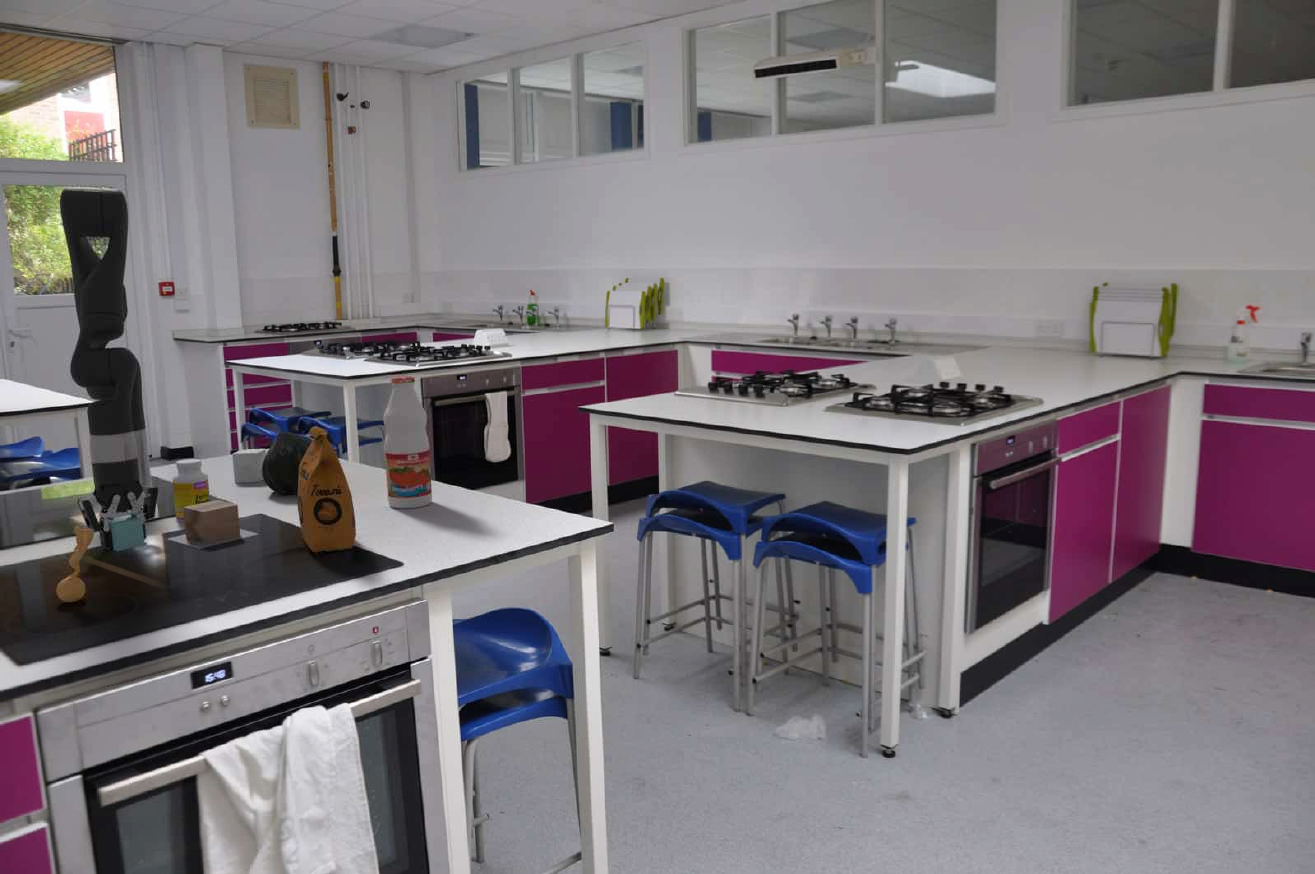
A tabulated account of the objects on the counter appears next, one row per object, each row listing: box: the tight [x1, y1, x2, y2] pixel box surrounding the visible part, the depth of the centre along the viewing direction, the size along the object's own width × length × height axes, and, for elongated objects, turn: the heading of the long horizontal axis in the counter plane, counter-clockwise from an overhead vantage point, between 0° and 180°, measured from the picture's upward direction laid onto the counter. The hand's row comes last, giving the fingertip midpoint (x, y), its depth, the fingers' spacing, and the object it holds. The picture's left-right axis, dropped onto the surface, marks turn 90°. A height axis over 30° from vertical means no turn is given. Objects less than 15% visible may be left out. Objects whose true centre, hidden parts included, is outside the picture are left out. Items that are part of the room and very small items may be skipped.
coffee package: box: [297, 425, 357, 553], centre depth 188 cm, size 10×12×22 cm
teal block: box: [110, 514, 145, 552], centre depth 188 cm, size 5×5×6 cm
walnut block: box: [183, 499, 241, 543], centre depth 193 cm, size 7×7×6 cm
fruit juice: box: [383, 375, 433, 509], centre depth 219 cm, size 9×9×28 cm
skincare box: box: [231, 448, 267, 484], centre depth 249 cm, size 6×6×7 cm
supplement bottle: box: [172, 458, 211, 522], centre depth 208 cm, size 7×7×13 cm
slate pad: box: [167, 528, 260, 550], centre depth 194 cm, size 12×12×1 cm
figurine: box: [56, 526, 95, 603], centre depth 160 cm, size 8×6×12 cm
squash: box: [262, 431, 313, 496], centre depth 235 cm, size 14×15×15 cm
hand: (124, 546), depth 188 cm, fingers closed on teal block, 5 cm apart
